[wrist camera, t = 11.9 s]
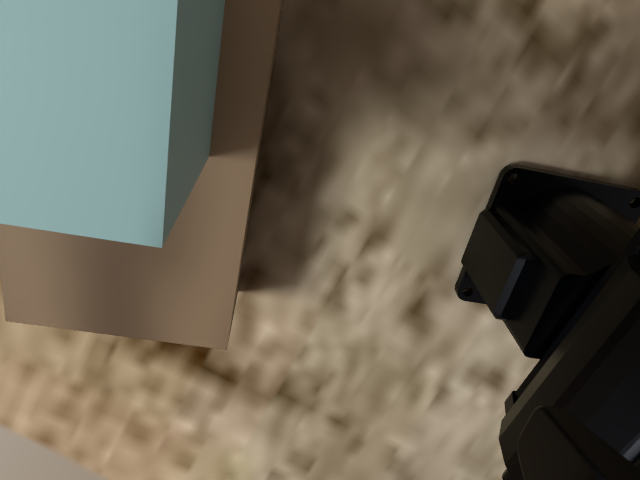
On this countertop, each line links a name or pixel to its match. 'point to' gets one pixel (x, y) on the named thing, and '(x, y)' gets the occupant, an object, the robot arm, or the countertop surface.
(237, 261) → the walnut plinth
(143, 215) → the block
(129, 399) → the countertop surface
